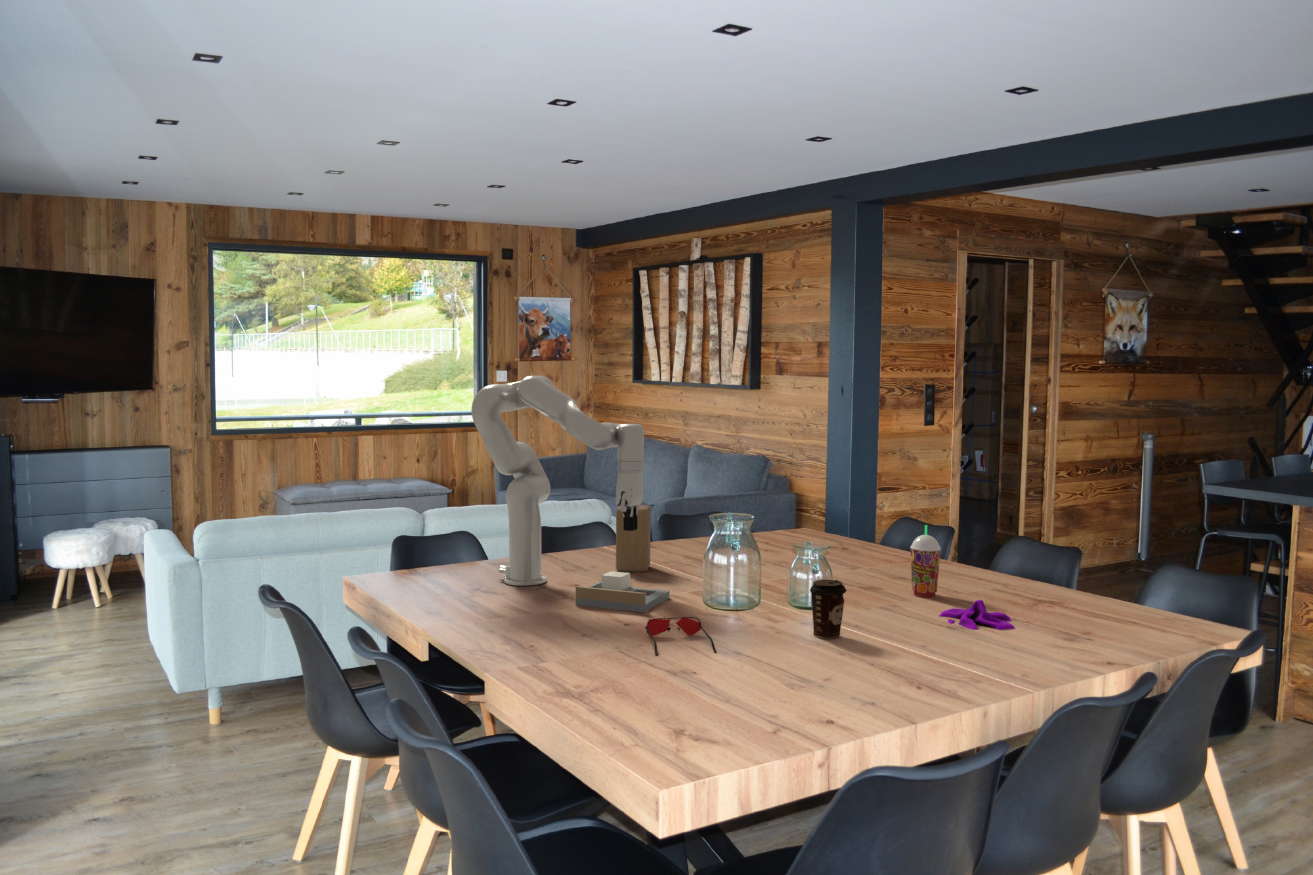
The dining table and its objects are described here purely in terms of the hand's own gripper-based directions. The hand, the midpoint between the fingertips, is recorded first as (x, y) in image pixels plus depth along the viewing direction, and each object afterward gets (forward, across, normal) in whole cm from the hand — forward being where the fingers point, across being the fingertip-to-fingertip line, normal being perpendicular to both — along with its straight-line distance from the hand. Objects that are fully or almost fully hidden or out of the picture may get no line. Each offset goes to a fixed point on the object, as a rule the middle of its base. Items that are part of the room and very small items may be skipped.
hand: (630, 529), depth 284 cm
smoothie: (+17, -25, +80) cm, 86 cm away
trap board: (+17, +16, +5) cm, 24 cm away
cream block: (+15, +10, 0) cm, 18 cm away
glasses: (+18, +49, +34) cm, 62 cm away
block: (+17, -25, -10) cm, 32 cm away
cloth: (+18, 0, +96) cm, 98 cm away
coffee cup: (+17, +28, +64) cm, 72 cm away
